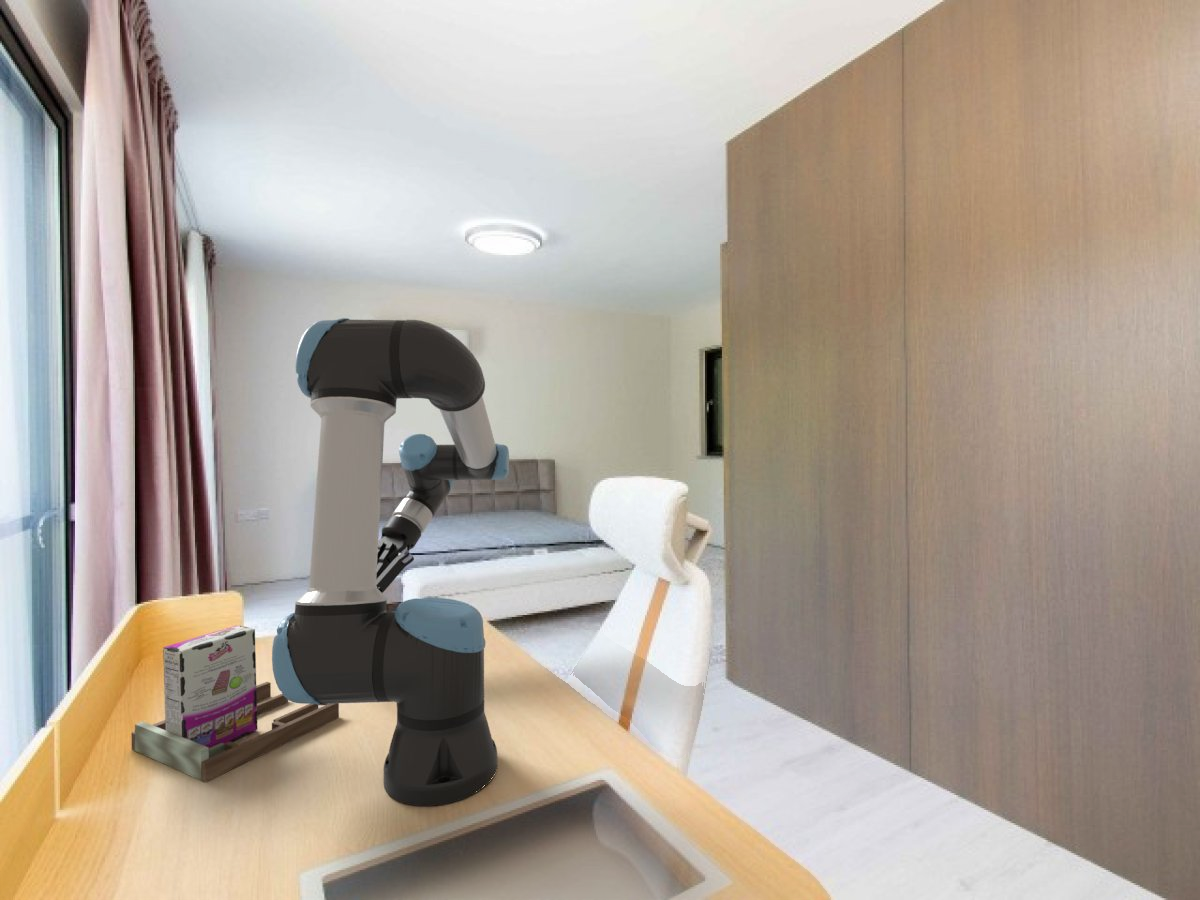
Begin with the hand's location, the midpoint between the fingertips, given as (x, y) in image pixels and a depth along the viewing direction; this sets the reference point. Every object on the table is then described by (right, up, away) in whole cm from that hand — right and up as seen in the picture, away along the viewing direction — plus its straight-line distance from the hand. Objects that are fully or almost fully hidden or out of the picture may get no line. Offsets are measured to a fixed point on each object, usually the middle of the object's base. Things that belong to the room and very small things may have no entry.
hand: (340, 624), depth 109 cm
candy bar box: (-10, -12, -20) cm, 26 cm away
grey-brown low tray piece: (-8, -12, -17) cm, 22 cm away
